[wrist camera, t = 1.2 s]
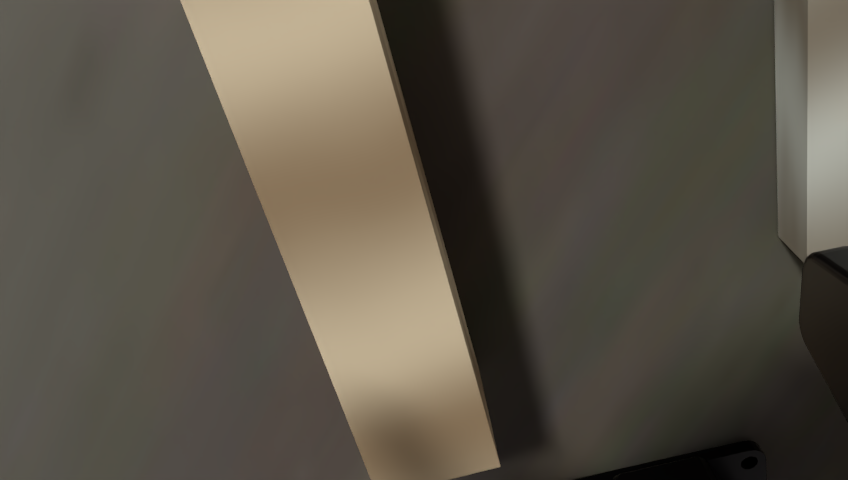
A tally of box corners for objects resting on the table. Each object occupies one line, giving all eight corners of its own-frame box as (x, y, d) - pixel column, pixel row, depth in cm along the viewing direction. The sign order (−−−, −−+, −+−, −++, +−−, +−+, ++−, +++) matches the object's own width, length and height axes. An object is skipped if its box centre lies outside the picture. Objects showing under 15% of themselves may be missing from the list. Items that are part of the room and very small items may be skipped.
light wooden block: (477, 362, 22) (500, 466, 19) (373, 388, 22) (377, 496, 19) (291, -310, 15) (271, -346, 11) (135, -264, 15) (67, -284, 11)
